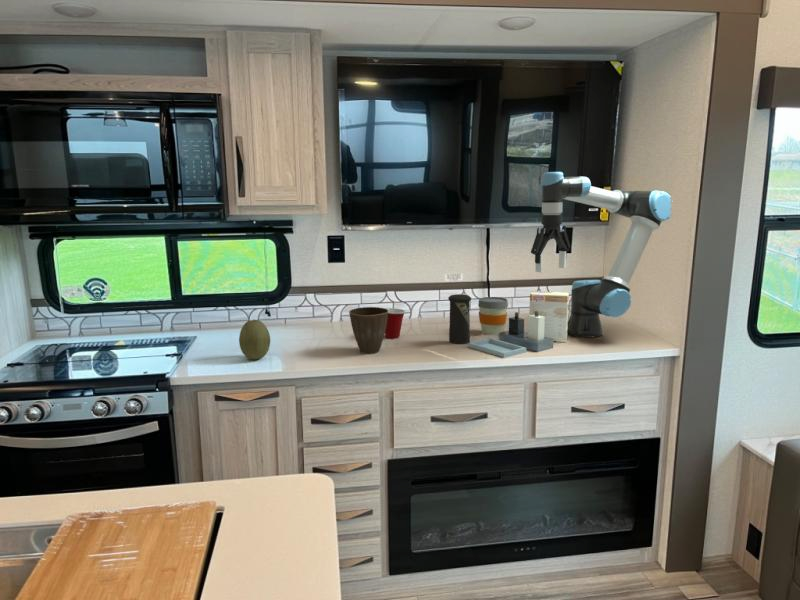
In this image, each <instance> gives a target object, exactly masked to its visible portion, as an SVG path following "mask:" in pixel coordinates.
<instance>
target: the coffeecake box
mask: <svg viewBox="0 0 800 600" xmlns="http://www.w3.org/2000/svg"><path fill="white" fill-rule="evenodd" d="M569 299H570V293H569V292H556V291H554V292H553V291H538V290H537V291H536V290H535V291H531V293H530V294H529V315H528V316H530V315H535V311H539V316H543V317H545V323H544V337H548V338H553V339H554V341H556V343H557V342H558V343H566V342H567V341H568V340H567V339H568V334H567V329H568V321H569V304H570V303H569ZM554 341H553V342H554Z"/></svg>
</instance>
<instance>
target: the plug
mask: <svg viewBox="0 0 800 600" xmlns="http://www.w3.org/2000/svg"><path fill="white" fill-rule="evenodd" d="M529 315H530V314H529ZM529 315H528V320H527V321H528V322H527V324H528V325H527V332H528V338H529V339H533V340H537V341H539V340H543V339H544V323H545V317H543V316H539V311H535V315H530V316H529Z"/></svg>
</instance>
